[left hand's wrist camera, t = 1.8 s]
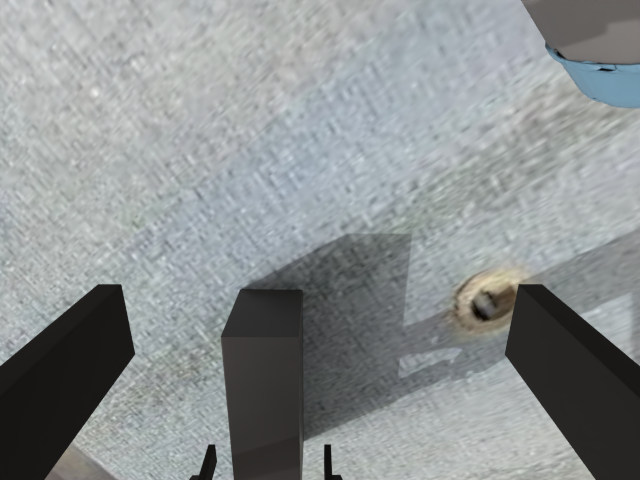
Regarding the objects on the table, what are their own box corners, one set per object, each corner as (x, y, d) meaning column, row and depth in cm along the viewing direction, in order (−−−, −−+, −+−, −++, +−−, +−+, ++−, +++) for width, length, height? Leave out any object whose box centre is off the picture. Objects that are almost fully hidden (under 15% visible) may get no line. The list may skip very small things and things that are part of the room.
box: (240, 289, 44) (220, 336, 35) (302, 289, 44) (298, 337, 35) (250, 441, 51) (236, 511, 43) (303, 442, 52) (300, 511, 43)
